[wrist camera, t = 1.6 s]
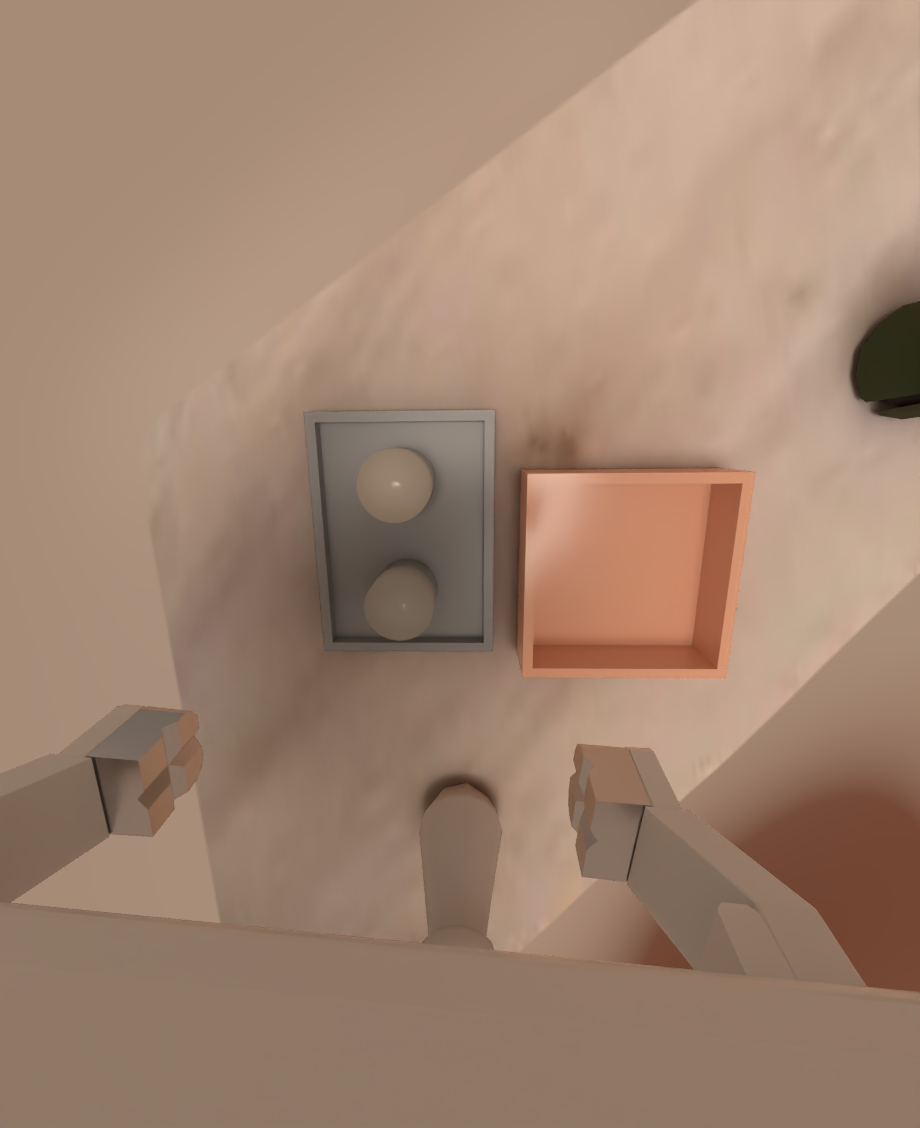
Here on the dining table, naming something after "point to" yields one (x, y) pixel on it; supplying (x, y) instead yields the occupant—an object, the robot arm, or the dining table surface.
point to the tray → (405, 524)
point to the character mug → (893, 363)
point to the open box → (630, 571)
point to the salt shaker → (459, 866)
